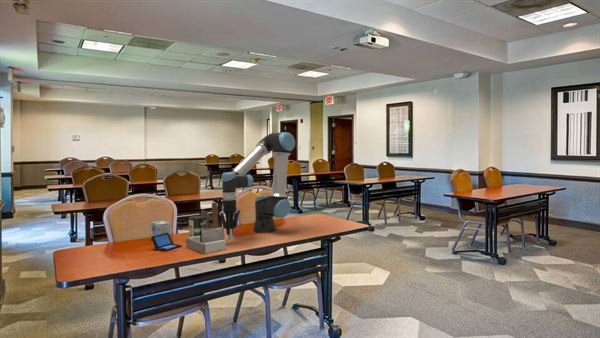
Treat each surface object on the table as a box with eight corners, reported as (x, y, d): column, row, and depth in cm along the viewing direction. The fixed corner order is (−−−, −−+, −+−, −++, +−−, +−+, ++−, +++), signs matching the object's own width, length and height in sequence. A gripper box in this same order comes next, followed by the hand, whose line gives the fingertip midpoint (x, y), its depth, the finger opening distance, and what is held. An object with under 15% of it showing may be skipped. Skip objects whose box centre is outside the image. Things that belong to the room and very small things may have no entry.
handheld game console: (165, 252, 206) (164, 238, 206) (150, 250, 211) (150, 236, 211) (182, 247, 217) (182, 233, 217) (168, 245, 222) (168, 232, 222)
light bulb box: (151, 239, 236) (151, 221, 236) (162, 237, 241) (161, 220, 241) (160, 242, 229) (159, 223, 229) (170, 239, 234) (170, 222, 233)
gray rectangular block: (224, 244, 221) (223, 226, 221) (226, 246, 216) (226, 228, 216) (199, 247, 215) (199, 229, 215) (201, 249, 210) (201, 231, 210)
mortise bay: (208, 242, 225) (208, 234, 225) (225, 249, 210) (225, 240, 209) (186, 246, 216) (186, 238, 216) (202, 253, 201) (202, 244, 201)
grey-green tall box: (210, 238, 236) (209, 215, 235) (201, 242, 226) (200, 218, 225) (195, 237, 239) (194, 214, 238) (185, 241, 229) (185, 217, 228)
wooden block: (201, 230, 261) (201, 203, 260) (216, 227, 268) (215, 202, 267) (204, 231, 258) (203, 204, 257) (218, 228, 265) (218, 202, 264)
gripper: (222, 201, 214) (223, 243, 216) (242, 199, 223) (243, 239, 224) (215, 199, 220) (216, 240, 221) (235, 197, 229) (236, 237, 230)
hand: (230, 240), depth 223 cm, fingers closed
